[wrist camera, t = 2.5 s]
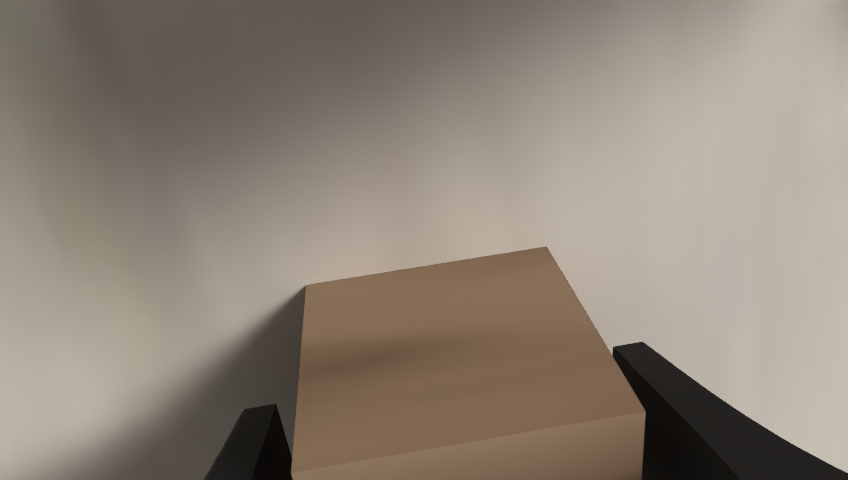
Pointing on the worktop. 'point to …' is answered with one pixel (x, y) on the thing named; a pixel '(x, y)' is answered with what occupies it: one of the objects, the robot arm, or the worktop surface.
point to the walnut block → (461, 378)
